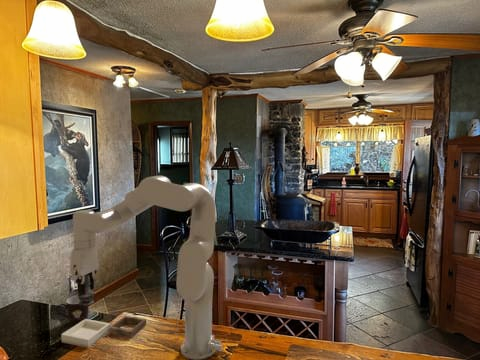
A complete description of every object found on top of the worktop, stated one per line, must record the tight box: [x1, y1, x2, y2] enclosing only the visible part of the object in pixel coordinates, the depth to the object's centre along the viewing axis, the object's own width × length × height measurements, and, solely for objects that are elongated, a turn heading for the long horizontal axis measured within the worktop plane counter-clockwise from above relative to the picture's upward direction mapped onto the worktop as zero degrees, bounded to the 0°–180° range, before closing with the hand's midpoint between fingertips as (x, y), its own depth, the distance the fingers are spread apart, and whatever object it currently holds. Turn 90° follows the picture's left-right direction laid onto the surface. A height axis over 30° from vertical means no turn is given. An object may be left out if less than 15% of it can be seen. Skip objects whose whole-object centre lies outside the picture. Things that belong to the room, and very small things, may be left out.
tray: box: [60, 318, 112, 349], centre depth 124 cm, size 12×12×3 cm
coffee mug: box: [55, 294, 90, 328], centre depth 134 cm, size 12×9×10 cm
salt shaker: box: [76, 274, 95, 306], centre depth 123 cm, size 6×6×12 cm
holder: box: [108, 315, 147, 339], centre depth 129 cm, size 10×10×2 cm
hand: (85, 290), depth 123 cm, fingers closed on salt shaker, 3 cm apart
